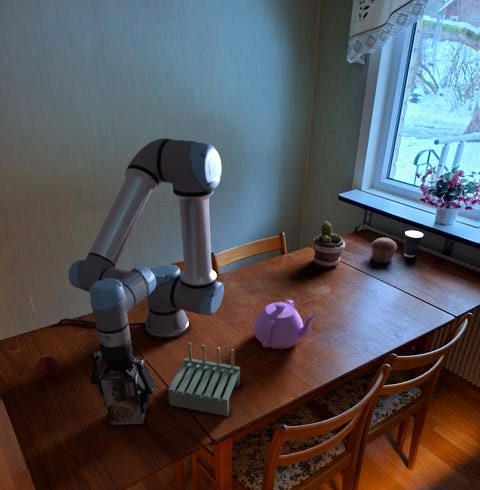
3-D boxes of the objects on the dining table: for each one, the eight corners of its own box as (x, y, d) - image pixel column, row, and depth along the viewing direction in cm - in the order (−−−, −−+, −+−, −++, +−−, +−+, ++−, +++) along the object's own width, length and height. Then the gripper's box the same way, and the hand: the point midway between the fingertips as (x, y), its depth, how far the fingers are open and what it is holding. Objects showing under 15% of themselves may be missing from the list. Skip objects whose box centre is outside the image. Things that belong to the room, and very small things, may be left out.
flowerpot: (348, 267, 203) (355, 225, 192) (317, 271, 199) (322, 229, 188) (334, 254, 214) (340, 214, 203) (304, 258, 211) (308, 217, 200)
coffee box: (146, 407, 126) (140, 363, 118) (143, 424, 121) (136, 379, 112) (114, 408, 126) (105, 363, 117) (109, 425, 121) (99, 379, 112)
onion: (53, 367, 141) (48, 346, 137) (64, 374, 138) (58, 354, 134) (36, 376, 137) (30, 355, 133) (46, 384, 134) (40, 363, 130)
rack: (169, 405, 127) (165, 369, 120) (186, 374, 139) (183, 340, 132) (227, 416, 124) (227, 380, 117) (239, 383, 135) (240, 349, 128)
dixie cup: (404, 250, 219) (409, 229, 213) (420, 255, 215) (425, 233, 209) (397, 255, 214) (402, 233, 208) (413, 260, 210) (419, 238, 204)
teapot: (301, 367, 142) (304, 331, 135) (241, 347, 151) (242, 312, 143) (324, 333, 158) (329, 299, 151) (269, 316, 167) (271, 284, 160)
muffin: (371, 263, 206) (375, 243, 201) (366, 253, 216) (370, 234, 210) (397, 264, 206) (401, 244, 201) (391, 254, 215) (395, 234, 210)
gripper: (65, 341, 109) (81, 408, 121) (151, 356, 104) (160, 424, 116) (81, 325, 115) (95, 390, 127) (164, 338, 110) (170, 404, 122)
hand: (126, 406), depth 121 cm, fingers closed on coffee box, 10 cm apart
